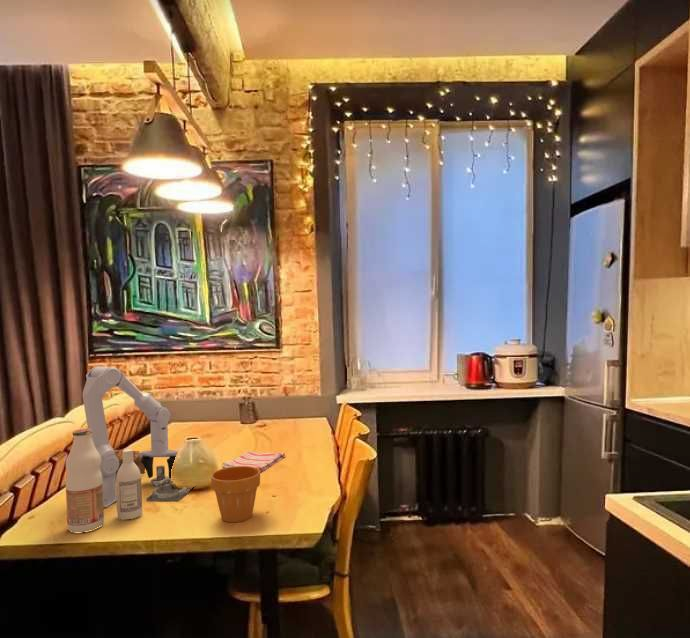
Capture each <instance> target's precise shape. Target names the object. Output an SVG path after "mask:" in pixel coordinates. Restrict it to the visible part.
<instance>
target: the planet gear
mask: <svg viewBox="0 0 690 638" xmlns="http://www.w3.org/2000/svg"><path fill="white" fill-rule="evenodd" d="M165 466H166V465H158V466H156V467H155V468H156V477H154V478H151V479H150V487H151V486H152V487H155V488H157V487H160V486H163V485H165V484H166V483H171V481H172V478H169V476H166V467H165Z"/></svg>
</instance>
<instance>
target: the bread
mask: <svg viewBox="0 0 690 638" xmlns="http://www.w3.org/2000/svg"><path fill="white" fill-rule="evenodd" d="M113 450H114V452H115V455H116V457H117V458H118V460H119V468H120V467H121V465H122V463H123V454H122V451H123V450H124V449H113ZM140 452H141V451H139V450H135V451H134V450H133V462H134V463H135V464H136V465H137V467H138V468H139V470H140V473H141V474H142V475H143V474H144V473H145V471H146V469H145V467H144V465H143V464H142V462H141V460H142V458H140V457H139V453H140ZM119 468H118V470H119ZM118 470H117V471H116V474H115V476H117V472H118Z"/></svg>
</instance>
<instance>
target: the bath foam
mask: <svg viewBox="0 0 690 638" xmlns="http://www.w3.org/2000/svg"><path fill="white" fill-rule="evenodd" d="M122 450H123V451H122V454H123V463H122V465H121V467H120V468H119V470H118V472H117V476H116V496H117V501H116V510H117V513H116V514H117V519H118V518H119V519H118V520H120V519H132V518H135V519H137V518H136V517H138V518H139V516H140V517H141V516H142V515H143V493H142V491H143V489H142V475H141V473H140V470H139V468H138V467H137V465H136V464H135V463H134V462H133V451H134V449H133V448H129V449H122ZM132 520H133V519H132Z"/></svg>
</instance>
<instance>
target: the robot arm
mask: <svg viewBox="0 0 690 638" xmlns="http://www.w3.org/2000/svg"><path fill="white" fill-rule="evenodd" d="M85 377H86V380H85V384H84V387H83V391H82V401H83V406H84V413H85V420H86V425H87V429H92V435H91V438H92V441H93V443H94V445H95V447H96V449H97V451H98V452H99V453H100V456H101V464H100V471H101V473H102V480H103V508H108V507H110V506H111V505H113V504H114V503H115V502H117V492H116V476H115V474H116V471H117V470H118V468H119V460H118V458H117V457H116V455H115V452H114V450H115V449H114V448H113V447H112V446H111V444H110V439H109V435H108V427H107V422H106V421H107V420H106V415H105V410H104V403H103V397H104V395H105V394H106V393H107V392H108V391H109V390H111V389H112V388H114V387H117V388H119V389H120V390H121V391H123V392H124V393H125V394H126V395H128V396H129V397H130V398H131V399H133V400H134V401H133V402H134V406H135V407H136V408H138V409H139V410H140V411H141V412H142V413H144V415H145V416H146V419H147V420H148V421H149V422H150V446H151V447H150V449H151V450H142V451H139V452H140V453H139V457H140V458H142V460H141V462H142V464H143V465H144V467H145V471H146V473H147V477H148V479H152V478H153V476H154V470H153V469H154V466H153V465H154V458H167V459H166V462H167V467H168V477H169V478H171V469H172V466H173V463H174V460H175V457H176V455H177V453H178V451H179V450H175V449H174V450H173V449H169V432H168V425H169V421H170V419H171V415H172V413H171V412H170V410H169V409H168V407H166V406H162V405H161V404H162V403H161V402H160V401H157V400H156V399H155V398H154V397H153V394H152V393H151V392H142V391H141V390H140V389H139V388H138V387H137V386H136V385H135V384H134V383H133V382H132V381H131V380H130V379H129V378H128V377H127V376H126V375H125V373H124V372H123V371H120V369H119V368H118V367H115V366H101V365H96V366H94V367H92V368H91V369H90V370H89V371H88V372H87V374H86V375H85ZM171 479H172V478H171Z"/></svg>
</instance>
